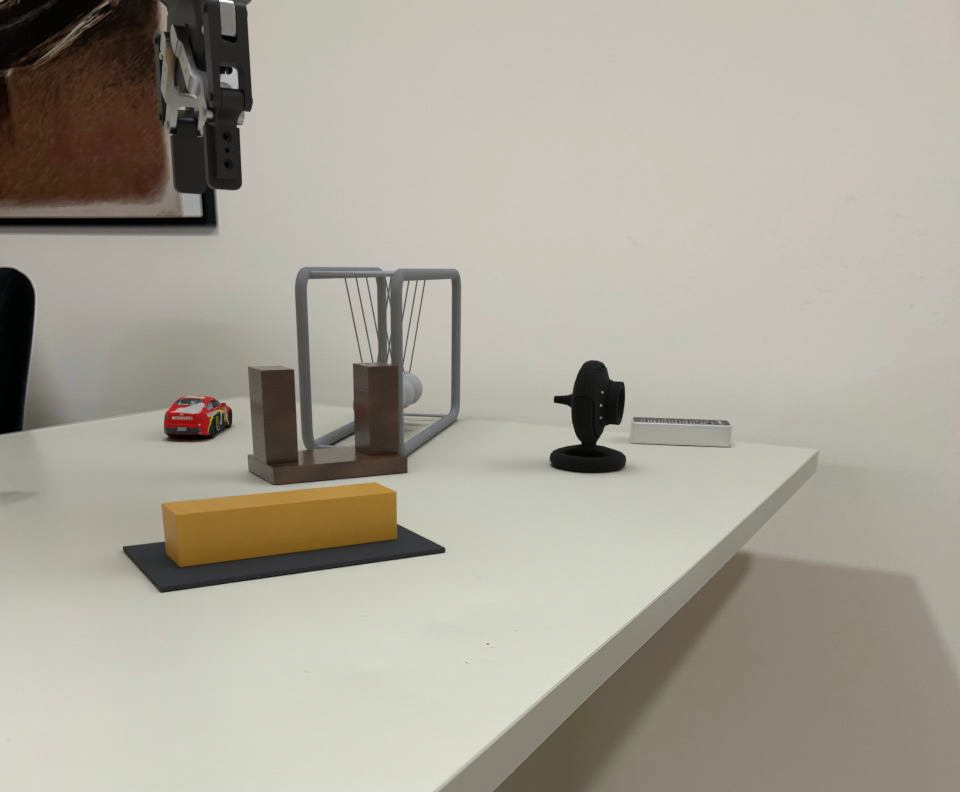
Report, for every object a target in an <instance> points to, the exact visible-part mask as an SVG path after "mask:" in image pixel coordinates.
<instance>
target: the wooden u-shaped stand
mask: <svg viewBox="0 0 960 792" xmlns="http://www.w3.org/2000/svg"><path fill="white" fill-rule="evenodd" d="M247 373H248V374H247V375H248V388H249V389H248V391H249V405H250V406H249V407H250V420H251V421H250V423H251V437H252V439H251V440H252V453H251V454H247V468H248V471H249V472H250V473H252V474H254V475H256V476H258V477H259V478H261V479H263V480H265V481H267V482H268V483H270V484H272V485H274V486H275V485H276V486H277V485H286V484H288V485H289V484H297V483H298V484H299V483H309V482H318V481H320V482H321V481H328V480H329V481H331V480H339V479H351V478H360V477H361V478H362V477H373V476H382V475H384V476H385V475H394V474H403V473H408V455H406V456H405V455H402V454H399V400H398V366H397V365H392V364H391V363H388V362H387V363H383V362H377V361H376V362H374V363H372V362H363V363H361V362H353V363H352V384H353V385H352V388H353V400H354V410H353V421H354V427H355V432H354V446H350V447H340V448H327V449H314V450H307V449H303V450H301V449H300V450H299V442H298V422H297V421H298V419H297V400H296V399H297V398H296V379H295V378H296V377H295V369H294V368H291V367H286V366H283V365H261V366H259V365H257V366H248V367H247Z"/></svg>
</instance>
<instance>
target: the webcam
mask: <svg viewBox="0 0 960 792" xmlns="http://www.w3.org/2000/svg"><path fill="white" fill-rule="evenodd" d="M553 403H554V404H560V405H565V406H568V407H569V408H570V413H571V423H572V427H573V430H574V433H575V436H576V438H577V439H578V441H579V442H580V443H579V444H578V443H577V444H572V445H571V444H570V445H566V446H561V447H558V448H556V449H554V450H552V451H551V452H550V454H549V462H550V463H551V465H552V466H554V467H555V468H558V469H562V470H567V471H574V472H583V473H584V472H585V473H601V472H602V473H603V472H613V471H620V470H622V469H623V468H624V467H625V466H626V463H627V457H626V454H625V453H623V452H622V451H620V450H617V449H614V448H611V447H607V446H605V445H600V444H597V443H598V441H599V440H600V438H601V437H602V434H603V433H604V431H605V428H606V427H607V426H609V425H611V426H612V425H613V426H620V425H621V424H622V422H623V417H624V413H625V405H626V385H625V382H624V381H618V380H613V379H611V378H610V375H609V371H608V367H606V365H605V363H604V362H602V361H599V360H596V359H590V360H587V361H585V362H584V363H582V365H581V367H580V368H579V370H578V371H577V374H576V377H575V380H574V383H573V386H572V393H570V394H565V395H554V396H553Z"/></svg>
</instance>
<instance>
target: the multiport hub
mask: <svg viewBox="0 0 960 792" xmlns="http://www.w3.org/2000/svg"><path fill="white" fill-rule="evenodd" d="M732 434H733V425H732V423H731V422H730V421H729V420H726V419H705V418H704V419H702V418H700V419H699V418H678V417H677V418H675V417H674V418H673V417H650V416H649V417H647V416H633V417H631V418H630V430H629V443H630V444H642V445H643V444H645V445H646V444H647V445H669V446H671V445H672V446H694V447H718V448H719V447H721V448H729V447H731V443H732V442H731V441H732V436H733V435H732Z"/></svg>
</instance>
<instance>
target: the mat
mask: <svg viewBox="0 0 960 792" xmlns="http://www.w3.org/2000/svg"><path fill="white" fill-rule="evenodd" d="M122 551H123V552H124V553H125V554H126V555H127V556H128V558H129V559H130V560H131V561H132V562H133V563H134V564H135V566H137V568H139V570H140V571H141V572H142V573H143V574H144V575H145V576H146V577H147V578H148V579H149V581H150V580H151V581H150V582H151V583H152V584H153V585H154V586H155V587H156V588H157V590H158V591H159V592H160V591H161V592H160V593H163V592H169V591H170V590H171V591H176V590H175V589H178V590H184V588H185V589H192V588H197V587H205V586H212V585H213V586H214V585H219V584H226V583H227V584H228V583H233V582H232V581H234V582H239V581H238V580H242V581H247V580H246V579H249V580H252V579H251V578H256V579H259V578H258V577H263V578H268V577H267V576H270V577H274V576H273V575H277V576H282V574H284V575H291V574H297V572H298V573H305V572H311V571H318V570H327V569H333V568H340V567H347V566H355V565H362V564H368V563H374V562H376V563H377V562H382V561H383V562H384V561H390V560H398V559H404V558H411V557H419V556H424V555H433V554H439V553H446V547H445V546H443V545H441V544H439V543H437V542H435V541H432V540H431V539H429V538H426V537H425V536H422V535H420V534H418V533H417V532H415V531H413V530H410V528H409V529H408V528H407V527H404V526H403V525H401V524H400V523H399V524H398V523H397V539H396V540H388V541H380V542H373V543H365V544H357V545H350V546H342V547H334V548H327V549H319V550H311V551H304V552H296V553H288V554H281V555H273V556H265V557H258V558H250V559H242V560H235V561H227V562H219V563H211V564H204V565H196V566H188V567H179V566H178V565H177V564H176V563H175V562H174V561H173V560H172V559H171V558H170V557H169V556H168V555H167V554H166V546H165V541H158V542H157V541H156V542H149V543H141V544H131V545H124V546H122ZM287 573H288V574H287ZM290 573H291V574H290ZM181 588H182V589H181ZM162 591H163V592H162Z"/></svg>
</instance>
